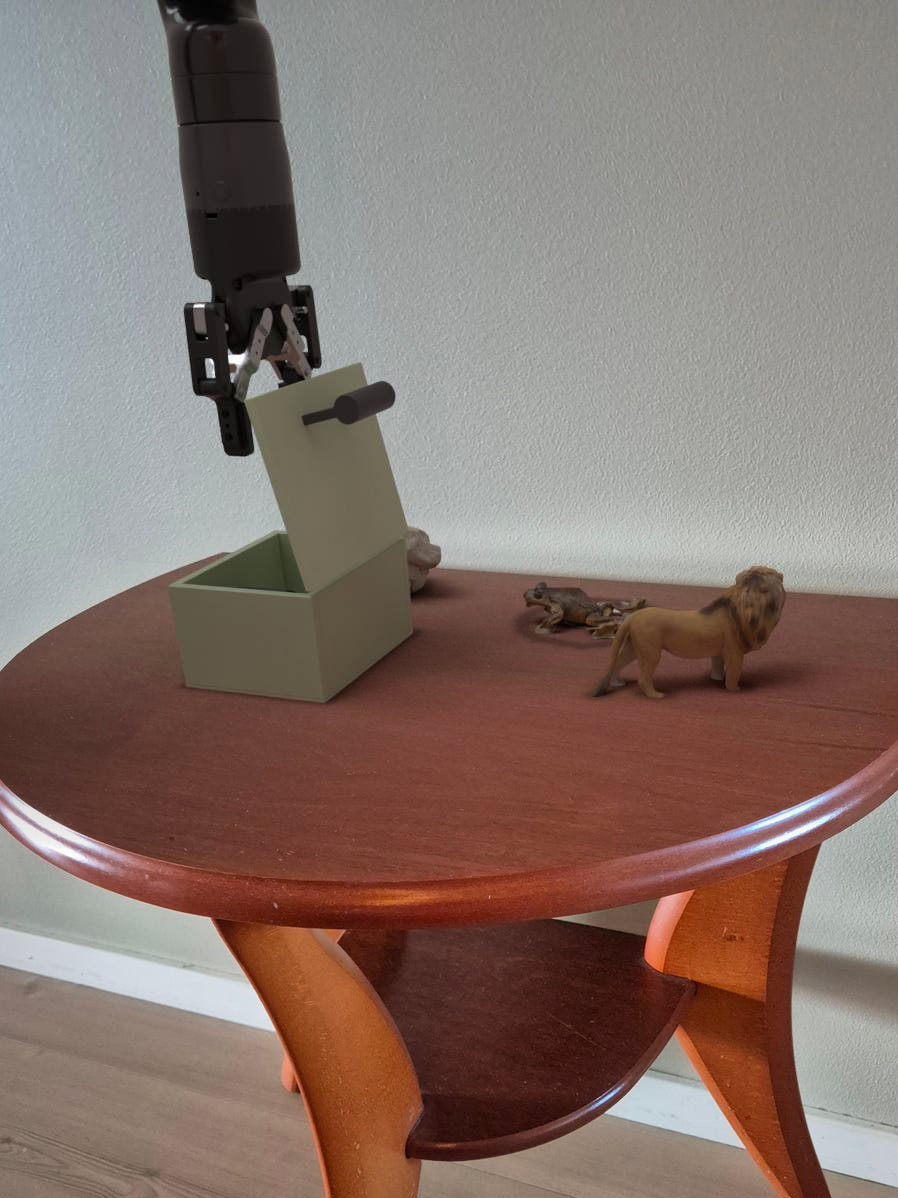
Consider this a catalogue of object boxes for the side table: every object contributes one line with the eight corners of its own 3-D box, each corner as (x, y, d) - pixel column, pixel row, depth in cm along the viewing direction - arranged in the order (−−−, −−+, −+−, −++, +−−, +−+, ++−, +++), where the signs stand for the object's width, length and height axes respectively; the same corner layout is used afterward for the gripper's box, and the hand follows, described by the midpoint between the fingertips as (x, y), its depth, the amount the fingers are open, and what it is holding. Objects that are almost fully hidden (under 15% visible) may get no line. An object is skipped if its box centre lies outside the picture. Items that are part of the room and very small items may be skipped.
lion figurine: (762, 667, 93) (771, 554, 88) (792, 692, 88) (802, 574, 84) (583, 691, 91) (582, 576, 86) (603, 717, 86) (604, 597, 82)
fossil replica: (357, 574, 121) (309, 613, 113) (339, 494, 116) (288, 529, 109) (464, 573, 116) (421, 614, 108) (450, 489, 111) (404, 526, 104)
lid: (243, 400, 80) (311, 381, 77) (352, 364, 93) (414, 347, 90) (306, 592, 86) (371, 580, 83) (401, 533, 98) (460, 521, 96)
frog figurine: (509, 652, 99) (507, 608, 97) (529, 605, 109) (528, 565, 107) (647, 654, 97) (648, 609, 95) (655, 606, 107) (656, 565, 105)
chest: (187, 693, 94) (166, 585, 90) (288, 626, 107) (275, 529, 103) (325, 709, 90) (311, 597, 86) (414, 638, 103) (405, 537, 98)
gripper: (248, 199, 89) (275, 425, 97) (132, 206, 77) (174, 461, 85) (336, 195, 86) (356, 427, 94) (229, 202, 75) (263, 465, 83)
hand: (269, 443), depth 90 cm, fingers open, 8 cm apart
